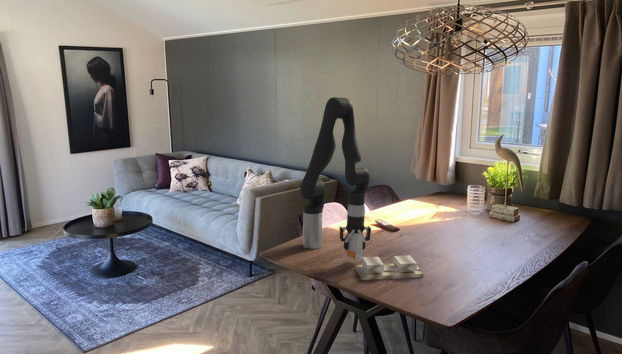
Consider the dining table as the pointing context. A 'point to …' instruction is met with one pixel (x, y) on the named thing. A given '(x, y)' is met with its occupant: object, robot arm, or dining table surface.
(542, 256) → the dining table surface
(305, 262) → the dining table surface
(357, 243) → the skincare box
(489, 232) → the dining table surface
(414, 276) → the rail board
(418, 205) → the dining table surface
